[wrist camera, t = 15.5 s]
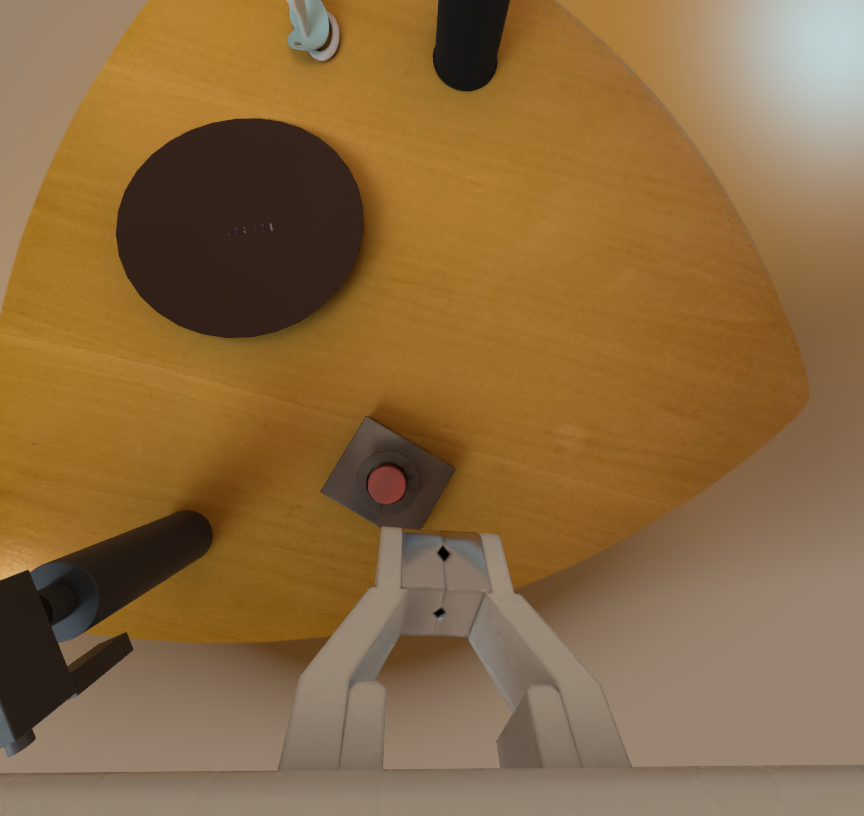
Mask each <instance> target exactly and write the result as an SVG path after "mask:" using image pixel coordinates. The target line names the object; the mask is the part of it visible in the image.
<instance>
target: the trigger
mask: <svg viewBox="0 0 864 816" xmlns="http://www.w3.org/2000/svg"><path fill="white" fill-rule="evenodd" d="M131 651H133V647H132V645H131V642H130V640H129V637H128V635H127V633H123V634H121V635H119V636H116V637H114V638H112V639H109V640H107V641H105V642H103V643H100V644H98V645H97V646H96V647H94V648H93V649H91V650H90V651H89V652H87V653H86V654H84V655H83V656H81V657H80V658H78V659H77V660H76V661H74V662H73V663H71V664H70V665H69V666H67V667H68V670H69V672H70V675H71V677H72V680H73V683H74V685H75V688H76V690H77V692H76V693H75V694H74V695H73V696H71V697H70V698H69V699H71V698H73V697H75V696H78V695H79V694H80V693H81V692H83V691H84V690H85V689H86V688H88V686H90V685H91V684H93V683H94V682H95V681H96V680H97V679H99V678H100V677H101V676H102V675H104V674H105V673H106V672H107V671H108V670H110V668H112V667H113V666H114V665H116V664H117V663H118V662H119V661H121V660H122V659H123V658H124V657H125V656H127V655H128V654H129V653H130V652H131Z"/></svg>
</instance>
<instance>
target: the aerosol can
mask: <svg viewBox="0 0 864 816" xmlns="http://www.w3.org/2000/svg"><path fill="white" fill-rule="evenodd" d="M509 3H510V0H438V16H437V32H436V45H435V48H434V52H433V63H434V67H435V70H436V72H437V74H438V76H439V77H440V78H441V80H442V81H444V82H445V83H446V84H447V85H449V86H450V87H452V88H455V89H457V90H462V91H472V90H476V89H479V88H481V87H483V86H484V85H486V84H487V83H488V82H489V81H490V80H491V78H492V77H493V75H494V74H495V71H496V68H497V54H498V50H499V46H500V41H501V37H502V33H503V29H504V24H505V20H506V16H507V11H508V7H509Z"/></svg>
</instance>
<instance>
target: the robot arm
mask: <svg viewBox="0 0 864 816" xmlns="http://www.w3.org/2000/svg"><path fill="white" fill-rule="evenodd" d="M399 635H439V636H456V637H469V638H468V640H469V642H470V643H471V645H472V647H473V648H474V650H475V651H476V653H477V654H478V656H479V658H480V660H481V661H482V663H483V664H484V666H485V668H486V669H487V671H488V673H489V675H490V676H491V678H492V680H493V681H494V683H495V685H496V686H497V688H498V689H499V691H500V693H501V694H502V696H503V698H504V699H505V701H506V703H507V704H508V706H509V708H510V709H511V711H512V712H513V715H512V716H511V718H510V719H509V721H508V723H507V724H506V726H505V728H504V729H503V731H502V733H501V734H500V736H499V738H498V739H497V748H498V755H499V762H500V768H493V769H397V770H396V769H392V770H383V749H384V726H385V699H386V689H385V688H384V686H383V685H382V684H381V683H380V682H379V681H374V680H375V678H376V676H377V675H378V673H379V671H380V669H381V668H382V665H383V664H384V662H385V660H386V659H387V657H388V655H389V654H390V652H391V650H392V648H393V646H394V645H395V643H396V641H397V640H398V638H399ZM0 816H864V765H789V766H689V767H632V766H631V763H630V761H629V758H628V755H627V753H626V750H625V747H624V745H623V742H622V739H621V737H620V734H619V731H618V729H617V726H616V723H615V721H614V718H613V715H612V713H611V710H610V707H609V705H608V702H607V699H606V697H605V694H604V691H603V689H602V686H601V684H600V683H599V681H598V680H597V679H596V678H595V677H594V676H593V675H592V674H591V672H590V671H589V670H588V669H587V668H586V667H585V666H584V665H583V664H582V662H581V661H580V660H579V659H578V658H577V657H576V656H575V655H574V654H573V652H572V651H571V650H570V649H569V648H568V647H567V646H566V645H565V643H564V642H563V641H562V640H561V639H560V638H559V637H558V636H557V635H556V633H555V632H554V631H553V630H552V629H551V628H550V627H549V626H548V624H547V623H546V622H545V621H544V620H543V619H542V618H541V617H540V616H539V615H538V613H537V612H536V611H535V610H534V609H533V608H532V607H531V605H530V604H529V603H528V602H527V601H526V600H525V599H524V598H523V597H522V595H521V594H514V590H513V586H512V582H511V578H510V574H509V570H508V566H507V562H506V558H505V555H504V551H503V547H502V543H501V539H500V537H499V535H498V534H486V533H475V532H457V531H432V530H421V529H411V528H398V527H386V526H382V528H381V536H380V544H379V552H378V560H377V568H376V577H375V587H370V588H369V589H368V590H367V592H366V593H365V594H364V595H363V597H362V598H361V599H360V600H359V602H358V603H357V604H356V606H355V607H354V608H353V609H352V611H351V612H350V613H349V614H348V616H347V617H346V618H345V620H344V621H343V622H342V623H341V625H340V626H339V627H338V628H337V630H336V631H335V632H334V634H333V635H332V636H331V637H330V639H329V640H328V641H327V643H326V644H325V645H324V646H323V648H322V649H321V650H320V651H319V653H318V654H317V655H316V657H315V658H314V659H313V660H312V662H311V663H310V664H309V665H308V667H307V668H306V669H305V671H304V672H303V673H302V674H301V676H300V677H299V680H298V684H297V689H296V694H295V697H294V702H293V706H292V711H291V715H290V719H289V724H288V728H287V732H286V737H285V741H284V746H283V750H282V754H281V758H280V763H279V767H278V771H203V772H202V771H196V772H98V773H5V774H3V773H2V774H0Z"/></svg>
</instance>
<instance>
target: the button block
mask: <svg viewBox="0 0 864 816" xmlns="http://www.w3.org/2000/svg"><path fill="white" fill-rule="evenodd" d="M387 464H389V465H394V466H396V467H398V468H399V469H400V470H401V471H402V472H403V473H404V475H405V478H406V488H405V491H404V494H403V495H402V497H401V498H400V499H399V500H398V501H396V502H394V503H391V504H382V503H379V502H377V501H375V500H374V499H373V498H372V497H371V495H370V493H369V490H368V480H369V478H370V476H371V474H372V473H373V471H374V470H375V469H376V468H378V467H380V466H382V465H387ZM455 470H456V469H455V468H454V467H453V466H452V465H450V464H448V463H447V462H445V461H443V460H442V459H440V458H438V457H437V456H435V455H433V454H431V453H430V452H428V451H426V450H425V449H423V448H421V447H420V446H418V445H416V444H415V443H413V442H411V441H410V440H408V439H406V438H405V437H403V436H401V435H400V434H398V433H396V432H395V431H393V430H391V429H389V428H388V427H386V426H384V425H383V424H381V423H379V422H378V421H376V420H374V419H373V418H371V417H369V416H366V417H365V419H364V421H363V422H362V424H361V425H360V427H359V429H358V430H357V432H356V434H355V435H354V437H353V439H352V440H351V442H350V444H349V445H348V447H347V449H346V450H345V452H344V453H343V455H342V457H341V458H340V460H339V462H338V463H337V465H336V467H335V468H334V470H333V472H332V473H331V475H330V477H329V478H328V480H327V481H326V483H325V485H324V486H323V488H322V490H321V493H323V494H325V495H327V496H328V497H330V498H332V499H333V500H335V501H337V502H338V503H340V504H342V505H344V506H345V507H347V508H349V509H350V510H352V511H354V512H355V513H357V514H359V515H361V516H362V517H364V518H366V519H367V520H369V521H371V522H373V523H374V524H376V525H378V526H379V527H381V528H382V526H386V527H398V528H411V529H421V528H422V526H423V524H424V523H425V521H426V519H427V518H428V516H429V514H430V512H431V511H432V509H433V507H434V506H435V504H436V502H437V500H438V499H439V497H440V495H441V494H442V492H443V490H444V489H445V487H446V485H447V483H448V482H449V480H450V478H451V477H452V475H453V473H454V472H455Z"/></svg>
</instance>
